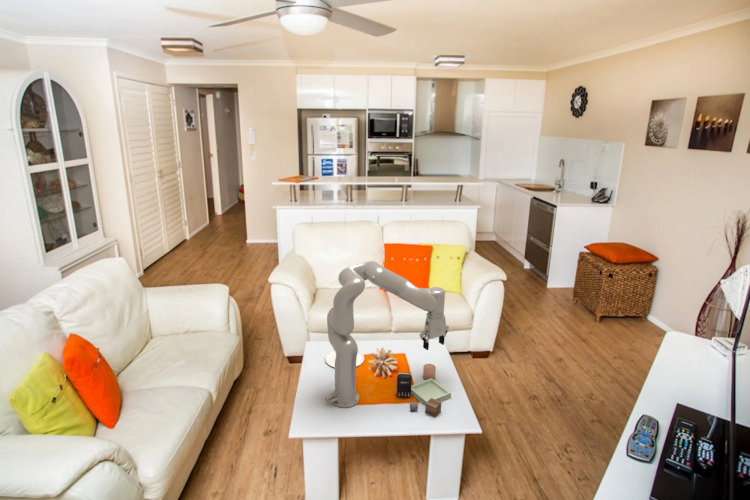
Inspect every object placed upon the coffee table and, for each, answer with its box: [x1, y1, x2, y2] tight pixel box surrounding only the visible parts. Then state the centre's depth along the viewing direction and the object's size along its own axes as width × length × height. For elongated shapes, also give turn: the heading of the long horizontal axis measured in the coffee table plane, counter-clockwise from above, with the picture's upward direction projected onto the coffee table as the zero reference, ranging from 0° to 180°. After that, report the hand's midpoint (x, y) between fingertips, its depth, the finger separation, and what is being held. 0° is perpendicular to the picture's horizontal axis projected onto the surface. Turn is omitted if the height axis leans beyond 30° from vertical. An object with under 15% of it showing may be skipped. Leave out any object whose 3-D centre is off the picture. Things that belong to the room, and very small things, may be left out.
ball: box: [409, 401, 419, 411], centre depth 194 cm, size 4×4×4 cm
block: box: [424, 398, 442, 418], centre depth 192 cm, size 5×5×5 cm
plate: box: [324, 349, 365, 369], centre depth 235 cm, size 21×21×1 cm
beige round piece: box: [422, 363, 437, 381], centre depth 218 cm, size 6×6×6 cm
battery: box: [396, 372, 413, 399], centre depth 202 cm, size 7×4×11 cm, turn 87°
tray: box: [411, 378, 452, 406], centre depth 205 cm, size 14×14×2 cm
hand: (433, 346), depth 212 cm, fingers open, 9 cm apart
